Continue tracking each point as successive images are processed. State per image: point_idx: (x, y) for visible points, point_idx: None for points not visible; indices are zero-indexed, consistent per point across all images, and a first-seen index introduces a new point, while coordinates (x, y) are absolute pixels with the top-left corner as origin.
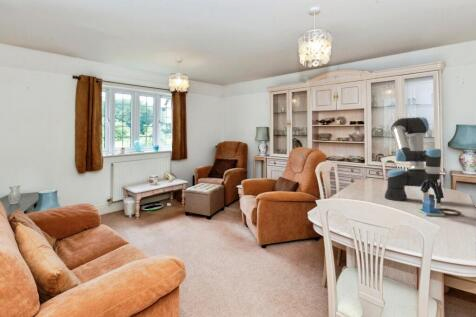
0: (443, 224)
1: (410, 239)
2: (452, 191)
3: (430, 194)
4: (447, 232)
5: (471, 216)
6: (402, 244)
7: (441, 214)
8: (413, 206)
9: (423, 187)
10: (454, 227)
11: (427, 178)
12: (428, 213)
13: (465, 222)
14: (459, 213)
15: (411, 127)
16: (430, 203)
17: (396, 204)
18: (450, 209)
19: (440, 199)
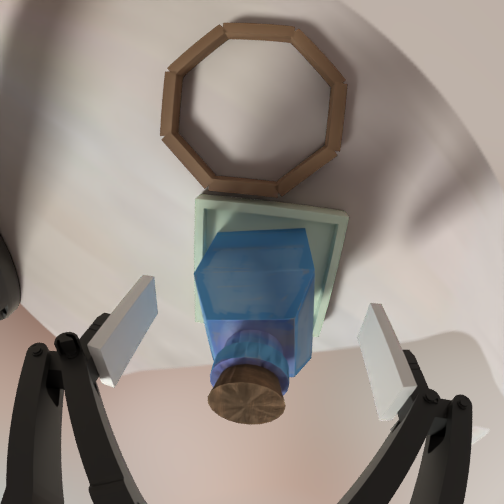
0: (452, 319)
1: None
2: None
3: (223, 403)
4: (496, 350)
5: (346, 5)
6: None
7: (342, 239)
8: (95, 269)
9: (58, 421)
10: (489, 296)
11: None
12: (315, 322)
13: (465, 170)
14: (333, 67)
15: None
16: (306, 362)
17: (82, 333)
18: (196, 56)
19: (424, 387)
